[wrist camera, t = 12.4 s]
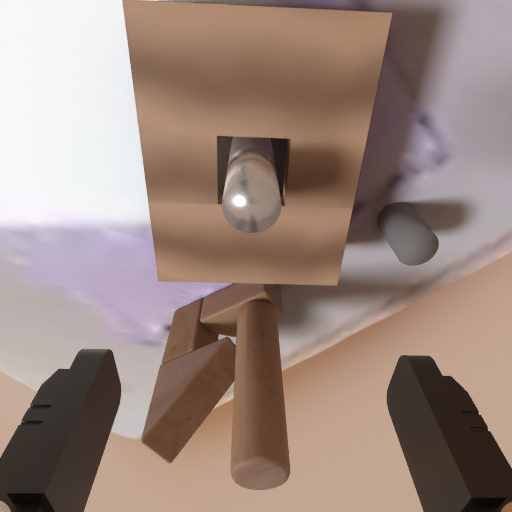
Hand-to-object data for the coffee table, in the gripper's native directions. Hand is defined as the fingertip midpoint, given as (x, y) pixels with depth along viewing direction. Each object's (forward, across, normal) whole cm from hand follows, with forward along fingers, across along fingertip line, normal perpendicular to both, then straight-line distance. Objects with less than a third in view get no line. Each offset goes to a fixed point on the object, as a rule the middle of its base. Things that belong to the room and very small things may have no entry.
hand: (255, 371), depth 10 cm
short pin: (+22, -13, +6) cm, 26 cm away
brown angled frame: (+22, +2, +16) cm, 28 cm away
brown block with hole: (+22, 0, 0) cm, 22 cm away
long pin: (+22, 0, 0) cm, 22 cm away
